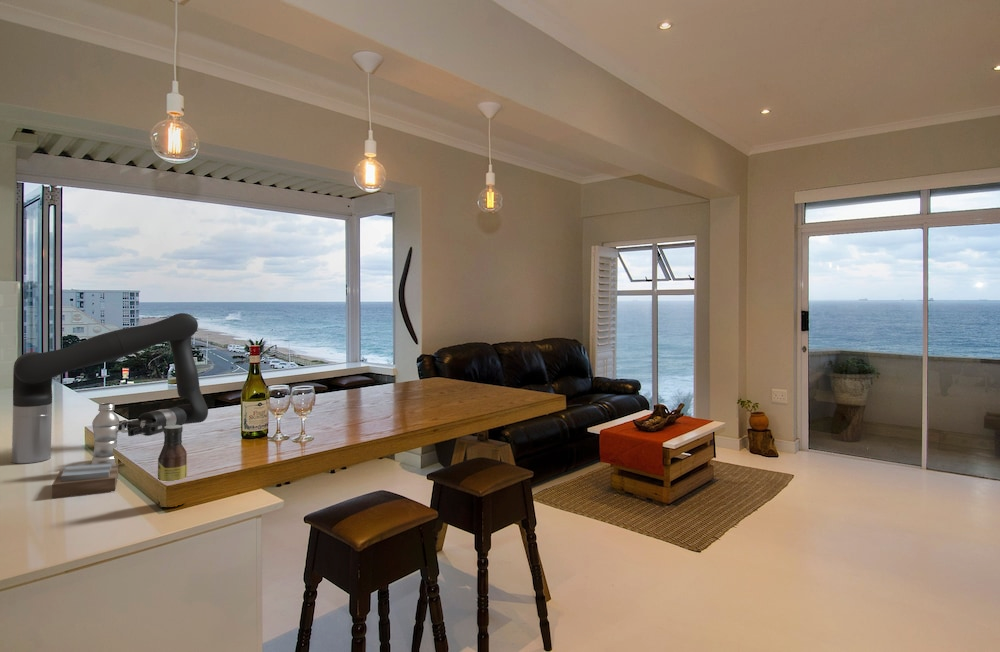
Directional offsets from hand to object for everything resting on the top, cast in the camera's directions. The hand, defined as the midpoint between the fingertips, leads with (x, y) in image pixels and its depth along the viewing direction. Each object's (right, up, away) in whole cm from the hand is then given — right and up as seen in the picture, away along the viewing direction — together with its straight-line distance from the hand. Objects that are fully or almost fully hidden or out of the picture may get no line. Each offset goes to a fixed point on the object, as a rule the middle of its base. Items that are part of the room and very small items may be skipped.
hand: (116, 431), depth 164 cm
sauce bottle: (+33, -13, -28) cm, 45 cm away
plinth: (+5, -12, -18) cm, 22 cm away
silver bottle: (-1, -11, -3) cm, 12 cm away
